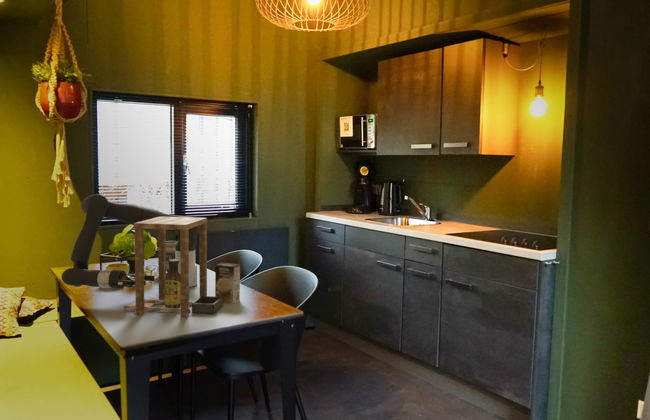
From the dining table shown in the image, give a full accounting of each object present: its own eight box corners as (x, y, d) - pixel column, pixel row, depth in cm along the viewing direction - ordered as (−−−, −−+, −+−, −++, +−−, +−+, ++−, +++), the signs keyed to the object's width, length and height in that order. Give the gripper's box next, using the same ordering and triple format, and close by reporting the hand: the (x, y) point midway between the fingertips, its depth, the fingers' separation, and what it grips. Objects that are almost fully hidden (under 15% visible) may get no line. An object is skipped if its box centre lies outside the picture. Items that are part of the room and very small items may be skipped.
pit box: (191, 313, 218) (191, 303, 218) (201, 305, 230) (201, 295, 230) (213, 314, 217) (213, 304, 217) (222, 306, 229) (222, 296, 229)
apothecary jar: (154, 276, 282) (153, 242, 281) (171, 272, 293) (171, 239, 291) (170, 279, 276) (170, 244, 274) (188, 275, 286) (188, 241, 285)
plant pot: (118, 288, 256) (118, 267, 255) (101, 286, 260) (100, 265, 259) (134, 284, 266) (133, 264, 265) (117, 281, 270) (116, 262, 269)
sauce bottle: (162, 309, 222) (161, 260, 220) (168, 305, 228) (168, 258, 227) (177, 310, 221) (177, 261, 220) (183, 306, 228) (183, 258, 226)
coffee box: (214, 301, 236) (214, 264, 234) (221, 298, 242) (221, 262, 240) (233, 304, 233) (233, 266, 231) (240, 300, 239) (240, 263, 237)
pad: (124, 309, 222) (124, 308, 222) (135, 302, 232) (134, 301, 232) (145, 310, 221) (145, 309, 221) (155, 303, 231) (155, 302, 231)
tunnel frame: (116, 314, 214) (114, 222, 211) (143, 298, 239) (142, 215, 236) (186, 317, 212) (186, 224, 208) (207, 301, 236) (207, 217, 233)
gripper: (103, 273, 219) (142, 275, 218) (120, 266, 233) (157, 268, 232) (103, 292, 220) (142, 293, 218) (120, 284, 234) (157, 285, 232)
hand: (149, 280), depth 225 cm, fingers open, 8 cm apart
